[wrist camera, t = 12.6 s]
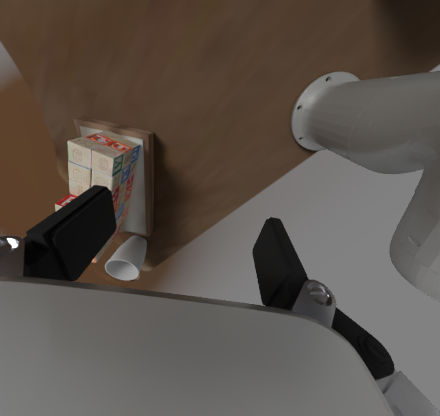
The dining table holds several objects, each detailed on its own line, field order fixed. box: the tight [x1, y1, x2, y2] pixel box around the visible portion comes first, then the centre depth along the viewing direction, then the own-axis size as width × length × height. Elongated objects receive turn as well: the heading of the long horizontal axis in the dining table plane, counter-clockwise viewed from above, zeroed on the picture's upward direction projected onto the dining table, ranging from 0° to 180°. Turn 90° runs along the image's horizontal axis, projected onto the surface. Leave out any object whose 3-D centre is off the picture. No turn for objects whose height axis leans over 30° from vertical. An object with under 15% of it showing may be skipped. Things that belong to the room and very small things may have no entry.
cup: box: [105, 236, 147, 280], centre depth 47 cm, size 8×8×10 cm
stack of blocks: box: [55, 131, 140, 263], centre depth 32 cm, size 21×6×12 cm, turn 155°
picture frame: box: [74, 117, 154, 237], centre depth 39 cm, size 13×26×3 cm, turn 168°
